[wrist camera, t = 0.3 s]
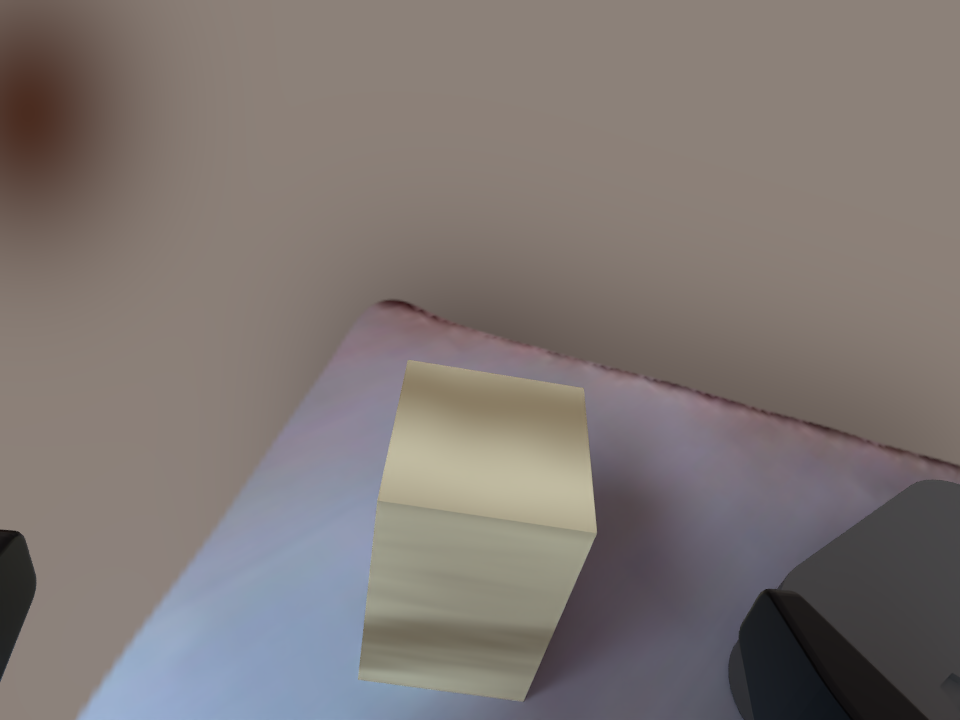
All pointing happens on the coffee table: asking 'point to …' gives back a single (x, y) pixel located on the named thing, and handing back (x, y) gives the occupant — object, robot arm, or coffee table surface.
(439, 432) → the plain birch block
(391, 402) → the coffee table surface
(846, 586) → the streaming box
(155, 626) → the coffee table surface
